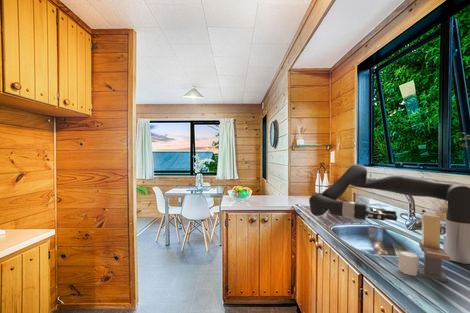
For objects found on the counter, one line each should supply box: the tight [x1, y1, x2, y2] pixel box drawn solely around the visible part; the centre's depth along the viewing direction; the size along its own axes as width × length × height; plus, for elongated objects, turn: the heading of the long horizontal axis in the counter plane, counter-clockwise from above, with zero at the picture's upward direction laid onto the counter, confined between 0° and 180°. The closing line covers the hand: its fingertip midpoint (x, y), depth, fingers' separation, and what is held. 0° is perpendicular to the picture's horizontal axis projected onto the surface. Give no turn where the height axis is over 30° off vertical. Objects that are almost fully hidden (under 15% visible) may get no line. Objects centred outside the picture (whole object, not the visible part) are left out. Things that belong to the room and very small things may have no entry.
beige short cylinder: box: [397, 250, 421, 276], centre depth 95 cm, size 7×7×7 cm
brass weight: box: [421, 213, 441, 249], centre depth 97 cm, size 5×5×12 cm
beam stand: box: [417, 252, 448, 283], centre depth 92 cm, size 5×8×8 cm, turn 59°
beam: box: [418, 241, 451, 262], centre depth 92 cm, size 20×7×2 cm, turn 149°
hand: (396, 216), depth 103 cm, fingers open, 8 cm apart
